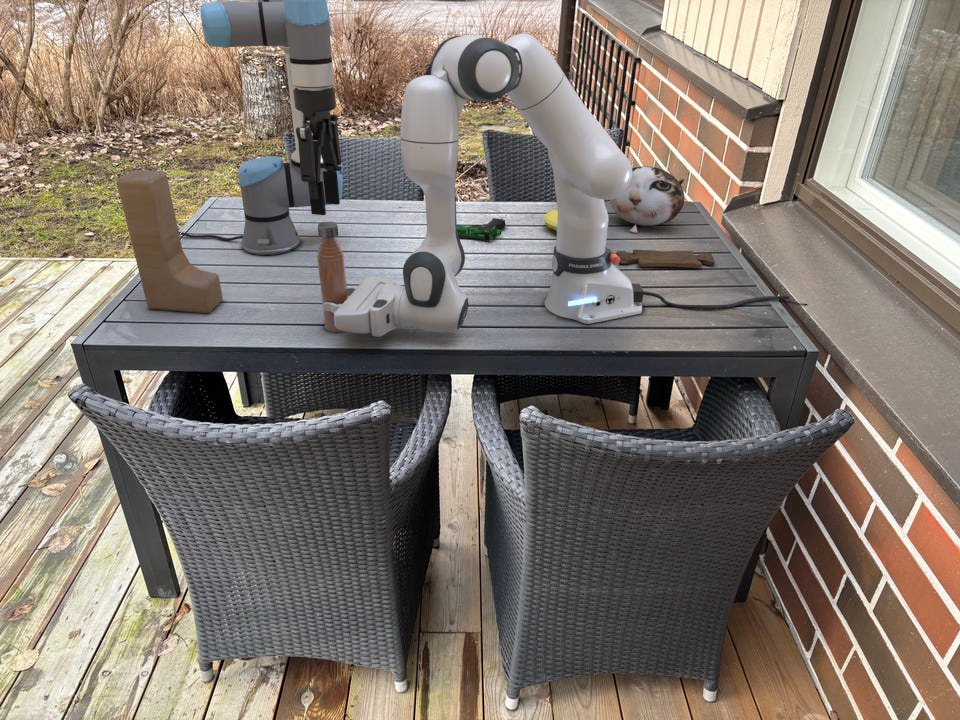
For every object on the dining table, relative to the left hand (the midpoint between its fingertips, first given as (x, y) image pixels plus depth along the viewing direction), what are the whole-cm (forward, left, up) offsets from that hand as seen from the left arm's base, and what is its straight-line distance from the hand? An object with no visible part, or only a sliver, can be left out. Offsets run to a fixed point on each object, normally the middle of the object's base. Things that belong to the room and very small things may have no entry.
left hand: (325, 208), depth 143 cm
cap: (0, 0, -4) cm, 4 cm away
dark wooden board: (+46, +77, -27) cm, 94 cm away
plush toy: (+30, +100, -27) cm, 108 cm away
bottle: (0, 0, -27) cm, 27 cm away
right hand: (-1, 0, -20) cm, 20 cm away
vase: (+14, +84, -27) cm, 89 cm away
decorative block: (-36, -12, -27) cm, 46 cm away
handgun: (-7, +66, -27) cm, 72 cm away
